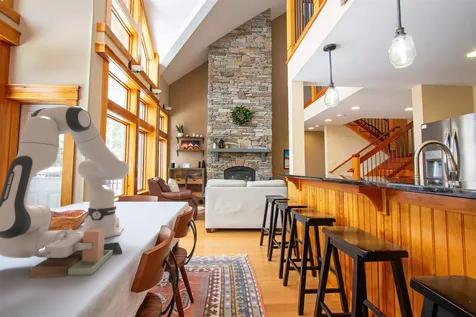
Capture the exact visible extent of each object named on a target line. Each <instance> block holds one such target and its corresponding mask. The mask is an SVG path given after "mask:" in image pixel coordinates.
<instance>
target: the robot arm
mask: <svg viewBox="0 0 476 317" xmlns="http://www.w3.org/2000/svg"><path fill="white" fill-rule="evenodd" d="M65 134H70V136H71V138H72V141H73V142H74V144H75V145H76V147H77V150H79V152H80V154H81V155H82V156H83V157H84V158H86V159H83V160H82V161H80V162H79V164H78V167H77V172H78V175H79V176H80V177H81V178H82V179H83V180H84V181H85V183H86V184H87V187H88V192H89V202H88V203H89V205H88V208H87V209H88V210H87V217H86V218H84V221H83V223H84V224H83V229H82V230H81V229H77V230H76V229H75V230H73V228H66V229H61V230H60V229H59V230H56V229H55V230H49V229H50V226H51V223H52V219H53V214H52V210H51V209H50V208H49V207H48V206H47V205H45V204H41V203H35V204H31V203H30V204H27V203H26V202H27V197H28V193H29V190H30V186H31V183H32V182H31V181H32V179H33V178H34V177H35V175H37V174H39V173H40V172H42V171H45V170H47V169H49V168H51V167H53V166H54V164H56V162H57V159H58V157H59V156H58V155H59V150H60V135H65ZM18 148H19V149H18V153H17V155H16V157H15V158H14V159H13V160H12V161H11V163H10V165H9V168H8V170H7V174H6V176H5V179H4V180H5V181H4V184H3V187H2V190H1V194H0V256H1V257H3V258H9V259H11V258H12V259H30V258H34V257H35V258H46V259H48V258H64V257H68V256H69V255H71V254H72V253H74V252H76V251H77V250H83V249H90V248H92V247H93V242H87V243H83V232H84V231H86V230H88V229H90V228H105V231H104V239H106V238H111V237H115V236H116V237H117V236H120V235H121V234H122V233H123V230H124V226H121V225H120V218H119V217H118V216H117V214H116V210H117V205H115V194H116V192H115V191H114V189H113V188H111V187H110V186H109V184H108V181H118V180H123V179H125V178H126V177H127V176H128V174H129V171H130V170H129V165H128V163H127V161H125V160H123V159H121V157H118V156H117V155H116V154H114V153H113V152H112V150H110V148H109V147H108V146H107V144H106V143H105V141H104V139H103V137H102V135H101V133H100V130H99V129H98V126H96V124H95V122H94V121H93V119H92V116H91V115H90V113H89V111H88V110H86V109H85V108H84V107H83V106H77V105H72V106H71V105H70V106H69V105H68V106H66V105H64V106H63V105H60V106H59V105H57V106H53V107H45V108H39V109H37V110H35V111H33V113H32V114H31V116H30V117H29V118H28V119H27V120H26V122H25V124H24V126H23V129H22V133H21V136H20V143H19V147H18Z"/></svg>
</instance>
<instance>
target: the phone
mask: <svg viewBox="0 0 476 317" xmlns="http://www.w3.org/2000/svg"><path fill="white" fill-rule="evenodd" d="M104 250H113V254H112V256H118V254H119V255H122V254H123V250H122V247H121V245H120V243H119V242H118V241H117V242H110V243H109V242H108V243H104ZM104 255H106V254H104Z"/></svg>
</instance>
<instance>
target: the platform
mask: <svg viewBox="0 0 476 317" xmlns="http://www.w3.org/2000/svg"><path fill="white" fill-rule="evenodd" d="M80 260H82V250H77V251H76V252H74V253H72V254H71V255H69V256H68V257H64V258H46V259H45V260H43V261H40V262H39V263H37V264H35V265H34V266H31V268H30V276H29V278H30V279H36V278H37V279H39V278H42V279H43V278H62V277H63V278H65V277H68V269H69V268H71V267H72V266H73V265H75V264H76V263H77V262H79V261H80Z"/></svg>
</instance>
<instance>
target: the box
mask: <svg viewBox="0 0 476 317" xmlns="http://www.w3.org/2000/svg"><path fill="white" fill-rule="evenodd" d="M104 254H106V255H103V256H102V257H101V258H100V259H99V260H98V261H82V260H80V261H79V262H77V263H76V264H75V265H73V266H72V267H71V268H69V269H68V275H67V277H71V276H72V277H73V276H92V275H93V274H94V273H95V272H96V271H98V270H99V269H100V268H101V267H102V266H103V265H104V264H105V263H106V262H107V261H108V260H109V259H111V257H112V256H113V255H112V254H113V250H104Z"/></svg>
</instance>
